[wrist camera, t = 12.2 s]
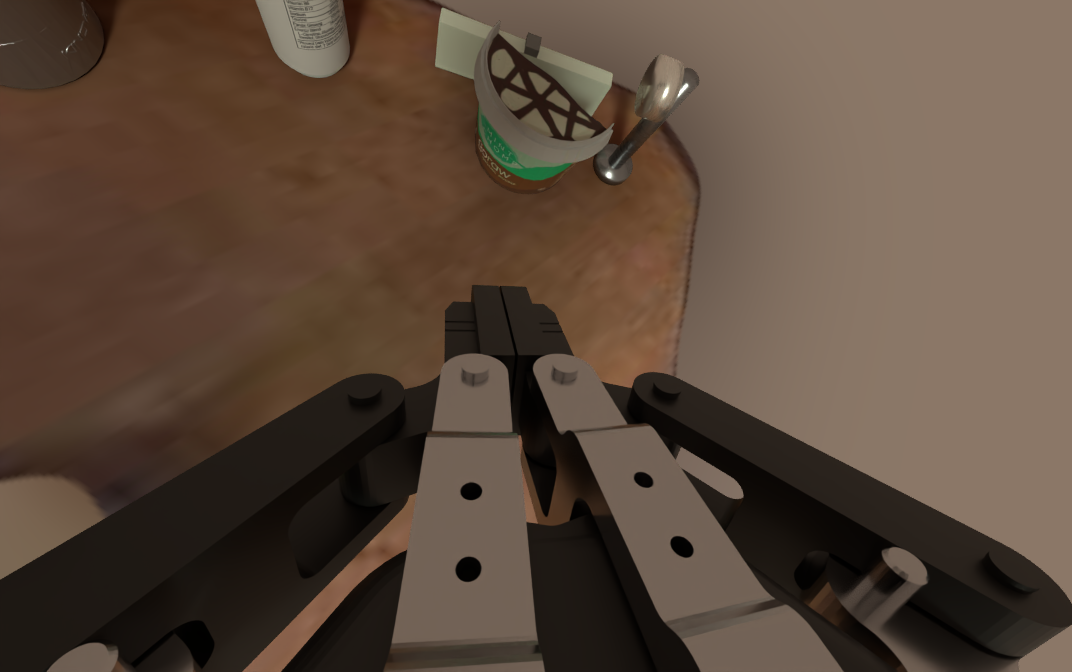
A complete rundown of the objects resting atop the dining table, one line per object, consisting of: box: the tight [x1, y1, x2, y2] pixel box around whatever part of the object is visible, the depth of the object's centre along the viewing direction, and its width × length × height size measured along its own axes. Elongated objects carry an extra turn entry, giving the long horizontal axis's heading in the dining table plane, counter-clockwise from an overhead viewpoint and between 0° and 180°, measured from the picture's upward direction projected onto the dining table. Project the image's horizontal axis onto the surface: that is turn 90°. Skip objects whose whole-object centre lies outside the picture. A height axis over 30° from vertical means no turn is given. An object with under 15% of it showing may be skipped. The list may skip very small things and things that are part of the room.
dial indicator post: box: [593, 54, 699, 185], centre depth 38 cm, size 4×4×13 cm
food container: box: [474, 20, 615, 194], centre depth 36 cm, size 12×6×10 cm, turn 55°
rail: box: [435, 8, 613, 116], centre depth 39 cm, size 16×1×6 cm, turn 82°
